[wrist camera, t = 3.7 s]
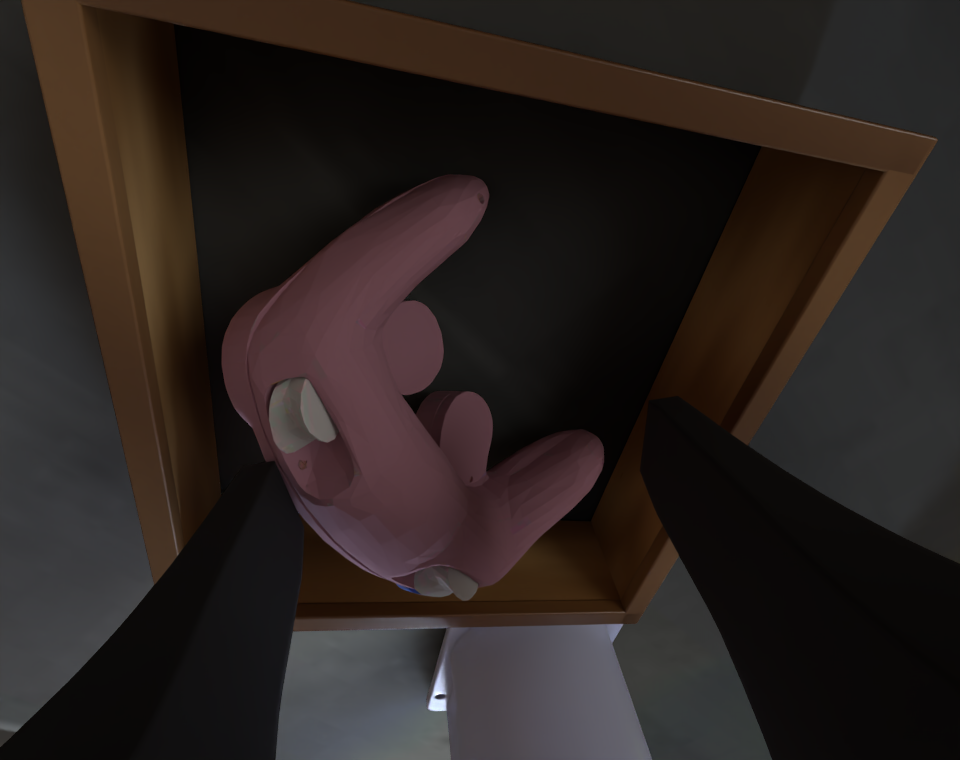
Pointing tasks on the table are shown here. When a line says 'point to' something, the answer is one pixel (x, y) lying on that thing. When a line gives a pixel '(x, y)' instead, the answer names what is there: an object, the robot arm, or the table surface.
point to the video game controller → (393, 408)
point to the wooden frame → (485, 64)
